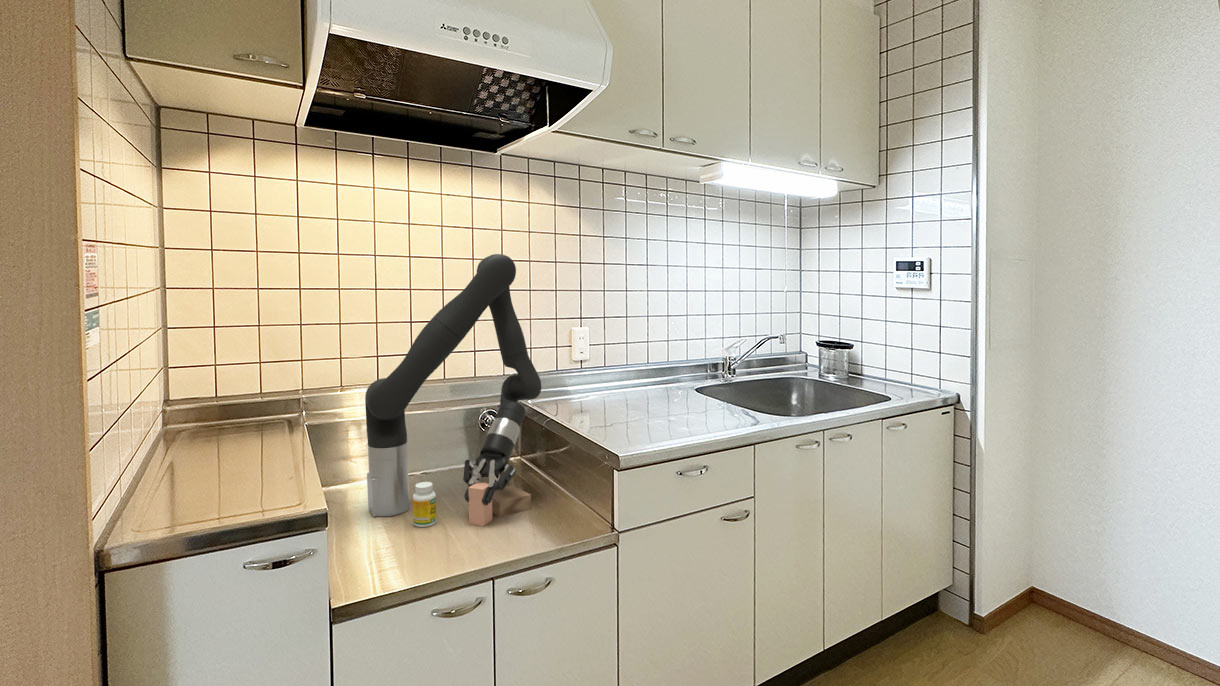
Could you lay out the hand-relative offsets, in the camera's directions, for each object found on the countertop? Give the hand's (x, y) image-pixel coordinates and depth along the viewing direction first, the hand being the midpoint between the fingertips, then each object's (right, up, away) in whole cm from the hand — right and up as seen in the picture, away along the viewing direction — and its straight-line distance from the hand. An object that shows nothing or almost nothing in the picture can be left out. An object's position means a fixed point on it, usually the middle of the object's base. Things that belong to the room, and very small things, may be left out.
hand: (476, 502), depth 140 cm
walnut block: (+5, -5, +12) cm, 14 cm away
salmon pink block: (+1, -5, +2) cm, 6 cm away
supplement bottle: (-13, -6, +1) cm, 14 cm away
